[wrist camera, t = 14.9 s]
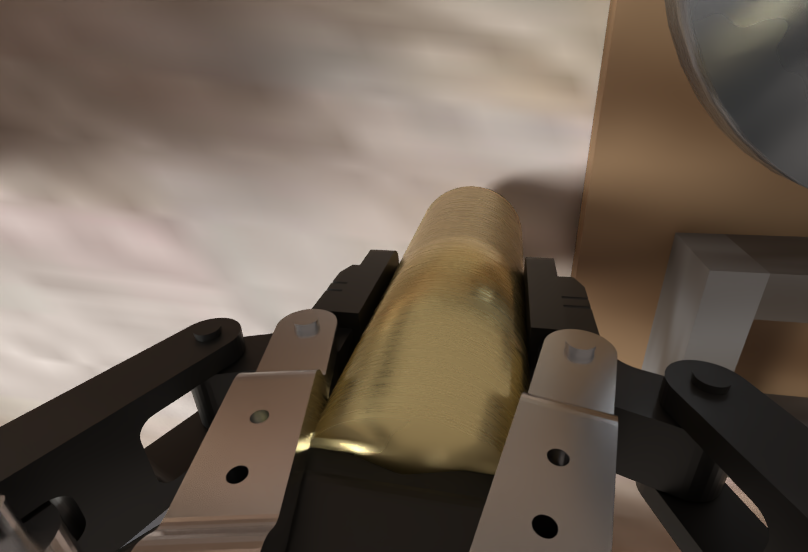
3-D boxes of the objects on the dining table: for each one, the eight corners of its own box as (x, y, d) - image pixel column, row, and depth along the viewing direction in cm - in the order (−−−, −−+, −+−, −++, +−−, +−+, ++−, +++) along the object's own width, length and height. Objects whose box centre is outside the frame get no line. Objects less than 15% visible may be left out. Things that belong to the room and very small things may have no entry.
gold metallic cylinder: (419, 185, 16) (273, 402, 6) (525, 187, 15) (552, 437, 5) (422, 276, 17) (310, 562, 8) (517, 282, 16) (527, 607, 7)
